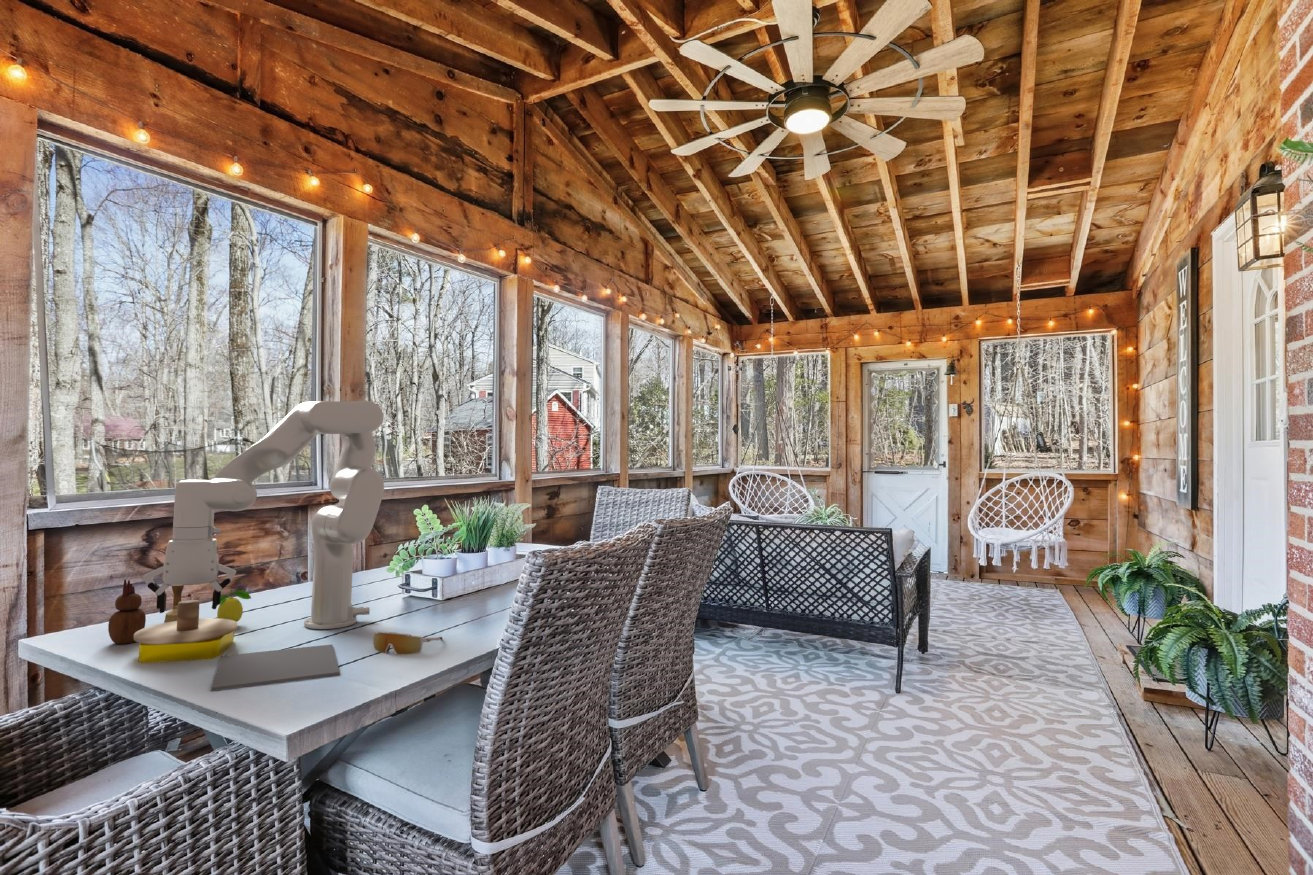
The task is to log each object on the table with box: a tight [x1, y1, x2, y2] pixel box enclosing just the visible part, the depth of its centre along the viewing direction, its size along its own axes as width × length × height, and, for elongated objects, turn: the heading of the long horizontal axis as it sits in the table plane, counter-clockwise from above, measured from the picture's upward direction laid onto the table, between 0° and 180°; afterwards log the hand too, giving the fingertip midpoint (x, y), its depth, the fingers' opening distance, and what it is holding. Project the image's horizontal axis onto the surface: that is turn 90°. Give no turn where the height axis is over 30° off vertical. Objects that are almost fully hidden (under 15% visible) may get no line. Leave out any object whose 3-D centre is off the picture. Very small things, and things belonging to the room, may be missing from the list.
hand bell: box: [163, 585, 185, 623], centre depth 161 cm, size 8×8×16 cm
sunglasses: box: [372, 631, 443, 655], centre depth 157 cm, size 14×15×5 cm
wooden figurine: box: [107, 578, 147, 645], centre depth 153 cm, size 7×6×15 cm
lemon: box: [216, 587, 252, 623], centre depth 169 cm, size 7×6×10 cm
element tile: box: [137, 631, 235, 664], centre depth 148 cm, size 15×15×5 cm
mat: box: [210, 643, 341, 692], centre depth 139 cm, size 22×22×1 cm
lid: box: [134, 599, 238, 644], centre depth 147 cm, size 19×19×7 cm
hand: (188, 609), depth 147 cm, fingers open, 9 cm apart
